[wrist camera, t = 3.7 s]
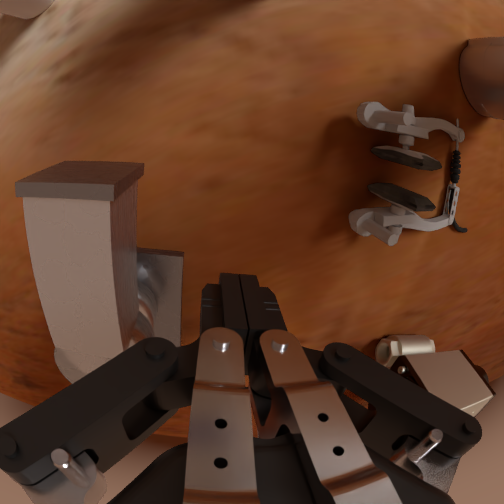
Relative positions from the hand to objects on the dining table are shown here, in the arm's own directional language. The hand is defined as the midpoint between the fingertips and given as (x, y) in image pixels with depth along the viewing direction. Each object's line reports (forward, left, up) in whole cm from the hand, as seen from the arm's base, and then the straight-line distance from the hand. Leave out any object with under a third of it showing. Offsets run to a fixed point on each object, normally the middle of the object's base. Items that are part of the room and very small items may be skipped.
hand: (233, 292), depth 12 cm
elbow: (+6, -9, -9) cm, 14 cm away
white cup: (-21, -22, -14) cm, 33 cm away
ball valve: (+17, +27, -14) cm, 35 cm away
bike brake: (-6, +20, -14) cm, 25 cm away
